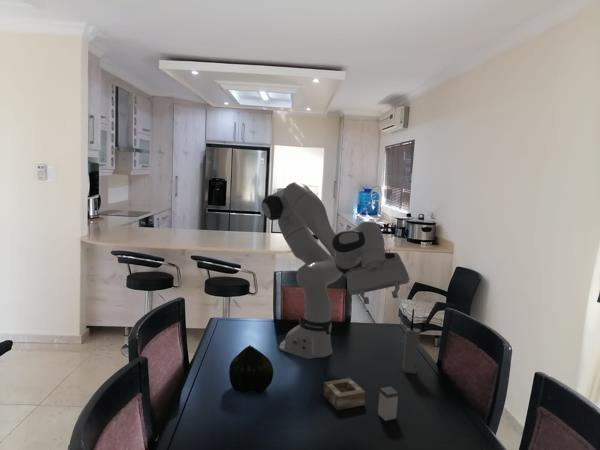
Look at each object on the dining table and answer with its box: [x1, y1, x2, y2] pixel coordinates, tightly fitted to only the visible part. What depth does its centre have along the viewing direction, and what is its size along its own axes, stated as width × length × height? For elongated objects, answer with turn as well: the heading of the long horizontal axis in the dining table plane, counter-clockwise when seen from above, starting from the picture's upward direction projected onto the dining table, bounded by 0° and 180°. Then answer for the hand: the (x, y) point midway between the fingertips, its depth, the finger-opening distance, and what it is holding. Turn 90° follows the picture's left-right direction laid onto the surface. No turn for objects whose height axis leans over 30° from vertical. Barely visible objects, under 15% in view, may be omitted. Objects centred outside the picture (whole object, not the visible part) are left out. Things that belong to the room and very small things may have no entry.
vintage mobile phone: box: [402, 308, 421, 375], centre depth 165 cm, size 4×5×25 cm
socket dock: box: [323, 377, 366, 411], centre depth 142 cm, size 10×10×4 cm
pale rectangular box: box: [377, 385, 399, 422], centre depth 133 cm, size 4×4×8 cm
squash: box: [228, 345, 274, 394], centre depth 146 cm, size 14×15×15 cm
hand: (380, 300), depth 136 cm, fingers open, 8 cm apart
